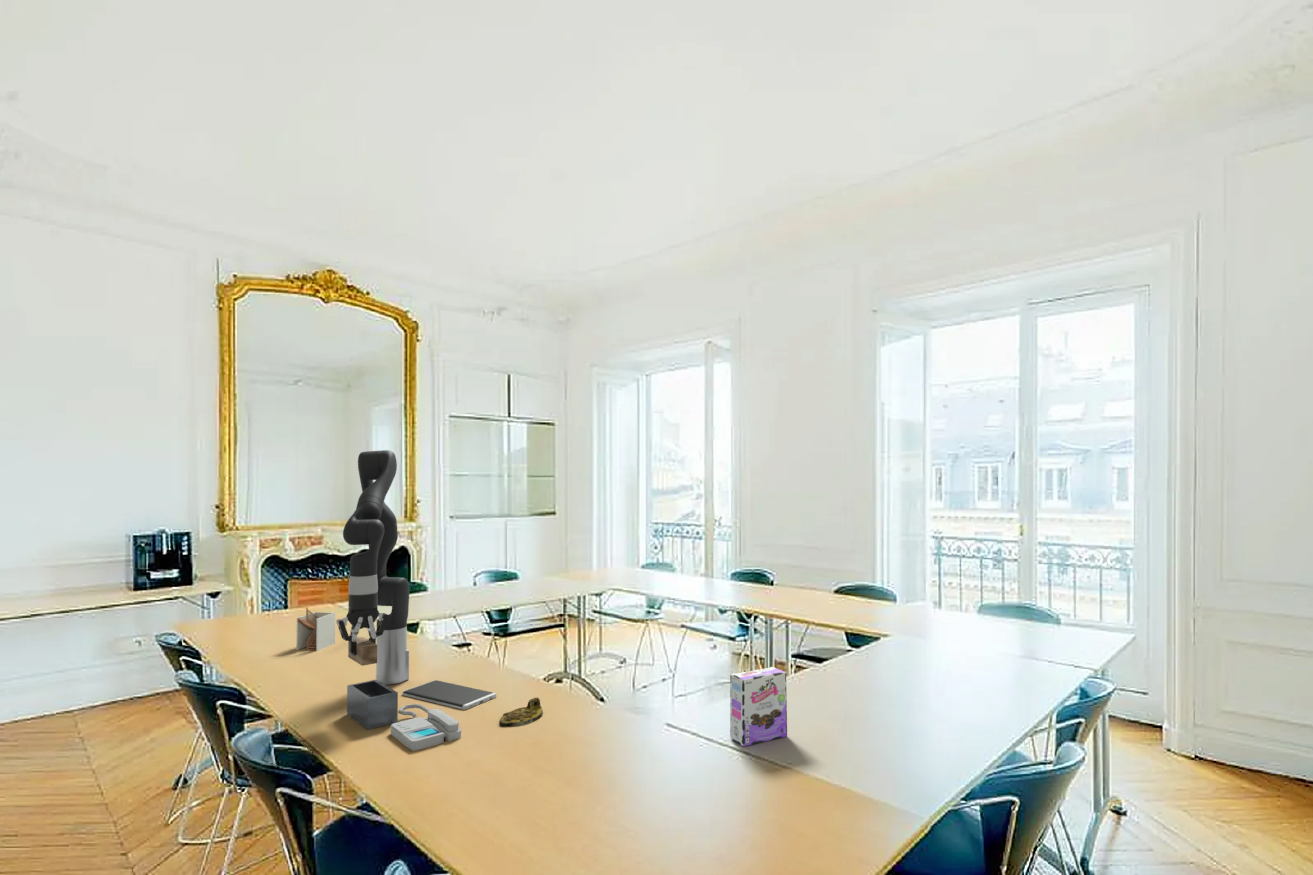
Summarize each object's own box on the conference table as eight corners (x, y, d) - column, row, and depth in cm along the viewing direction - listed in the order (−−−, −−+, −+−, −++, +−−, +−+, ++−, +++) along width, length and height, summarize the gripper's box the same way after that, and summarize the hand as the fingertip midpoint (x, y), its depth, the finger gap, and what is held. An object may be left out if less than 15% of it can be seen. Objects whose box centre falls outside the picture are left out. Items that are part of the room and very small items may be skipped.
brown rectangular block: (362, 654, 200) (363, 636, 200) (377, 663, 191) (377, 644, 191) (348, 657, 197) (348, 639, 197) (362, 665, 188) (362, 647, 188)
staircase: (296, 651, 265) (296, 607, 266) (314, 644, 276) (315, 601, 277) (316, 652, 264) (317, 607, 264) (334, 644, 275) (335, 602, 275)
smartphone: (464, 712, 198) (464, 706, 198) (400, 696, 212) (400, 691, 212) (497, 698, 210) (497, 692, 210) (435, 684, 223) (435, 679, 223)
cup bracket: (375, 707, 201) (376, 679, 201) (397, 722, 189) (397, 692, 190) (347, 714, 196) (347, 685, 196) (367, 730, 184) (367, 699, 184)
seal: (514, 735, 183) (552, 716, 196) (516, 717, 183) (553, 700, 196) (489, 724, 188) (527, 707, 201) (490, 707, 188) (528, 691, 201)
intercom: (423, 697, 198) (462, 721, 179) (423, 712, 197) (462, 738, 178) (376, 708, 189) (412, 734, 170) (375, 724, 189) (411, 752, 170)
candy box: (743, 747, 170) (742, 679, 171) (729, 739, 176) (728, 673, 176) (788, 737, 177) (787, 671, 178) (774, 729, 182) (773, 665, 183)
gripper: (384, 586, 202) (383, 646, 201) (332, 592, 193) (331, 655, 192) (393, 590, 197) (393, 651, 196) (340, 596, 187) (339, 660, 186)
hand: (362, 653), depth 194 cm, fingers closed on brown rectangular block, 4 cm apart
